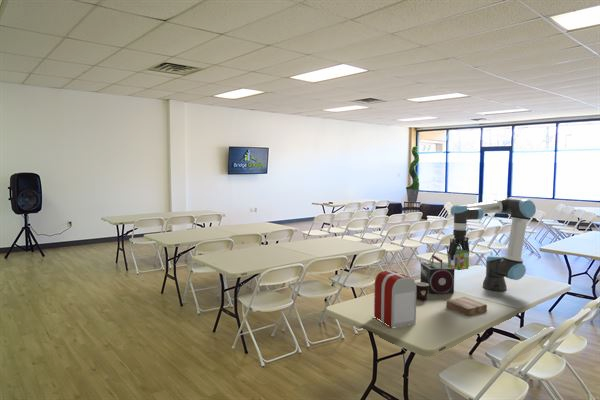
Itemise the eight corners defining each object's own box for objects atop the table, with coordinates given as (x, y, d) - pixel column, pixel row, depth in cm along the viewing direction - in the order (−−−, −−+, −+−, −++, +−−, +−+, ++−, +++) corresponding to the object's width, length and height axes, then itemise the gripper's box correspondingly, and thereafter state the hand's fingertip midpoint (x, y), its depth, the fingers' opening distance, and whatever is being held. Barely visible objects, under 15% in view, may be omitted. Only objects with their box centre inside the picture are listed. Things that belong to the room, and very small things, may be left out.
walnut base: (464, 302, 249) (464, 296, 249) (486, 311, 235) (486, 304, 235) (446, 307, 242) (446, 300, 242) (468, 315, 228) (468, 309, 227)
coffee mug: (429, 298, 258) (429, 283, 257) (427, 302, 251) (427, 286, 250) (410, 295, 263) (411, 280, 262) (408, 299, 255) (409, 284, 255)
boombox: (418, 285, 284) (419, 245, 281) (446, 285, 285) (447, 244, 282) (427, 294, 266) (428, 250, 263) (457, 293, 267) (459, 250, 264)
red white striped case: (391, 328, 210) (392, 279, 208) (373, 317, 227) (373, 271, 224) (416, 323, 217) (417, 276, 214) (396, 312, 233) (397, 268, 231)
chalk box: (458, 270, 245) (459, 247, 244) (447, 267, 253) (448, 244, 252) (469, 269, 249) (470, 246, 248) (457, 265, 258) (458, 243, 256)
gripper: (467, 227, 257) (465, 261, 259) (442, 229, 248) (441, 264, 250) (476, 229, 250) (475, 263, 253) (451, 231, 241) (450, 267, 243)
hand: (458, 264), depth 251 cm, fingers closed on chalk box, 9 cm apart
